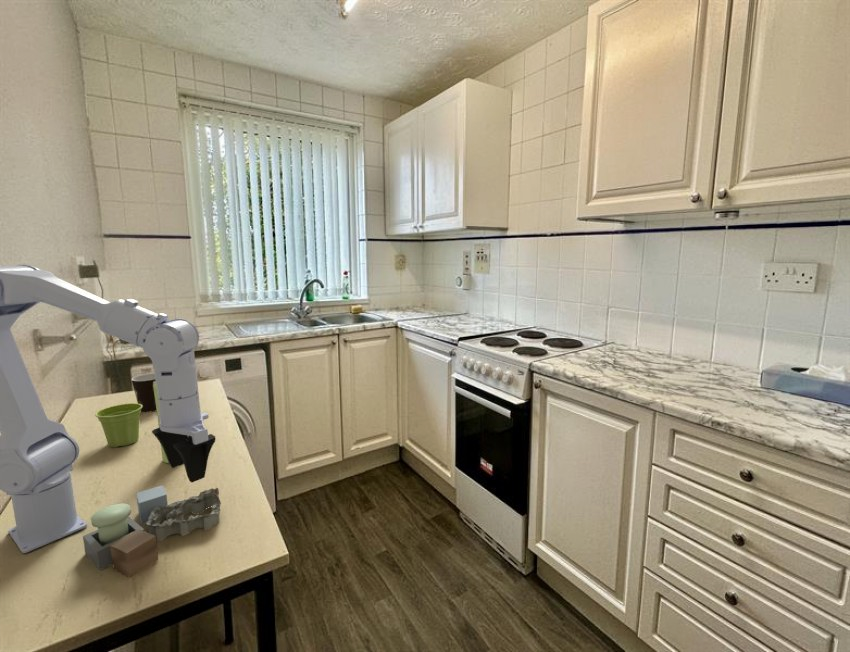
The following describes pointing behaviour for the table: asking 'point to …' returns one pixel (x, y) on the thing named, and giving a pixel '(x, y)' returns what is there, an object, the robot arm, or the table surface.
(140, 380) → the coffee mug
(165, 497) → the slate-blue block
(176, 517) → the egg carton
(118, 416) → the plant pot
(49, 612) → the table surface
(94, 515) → the green button
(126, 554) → the walnut block
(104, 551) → the button housing
